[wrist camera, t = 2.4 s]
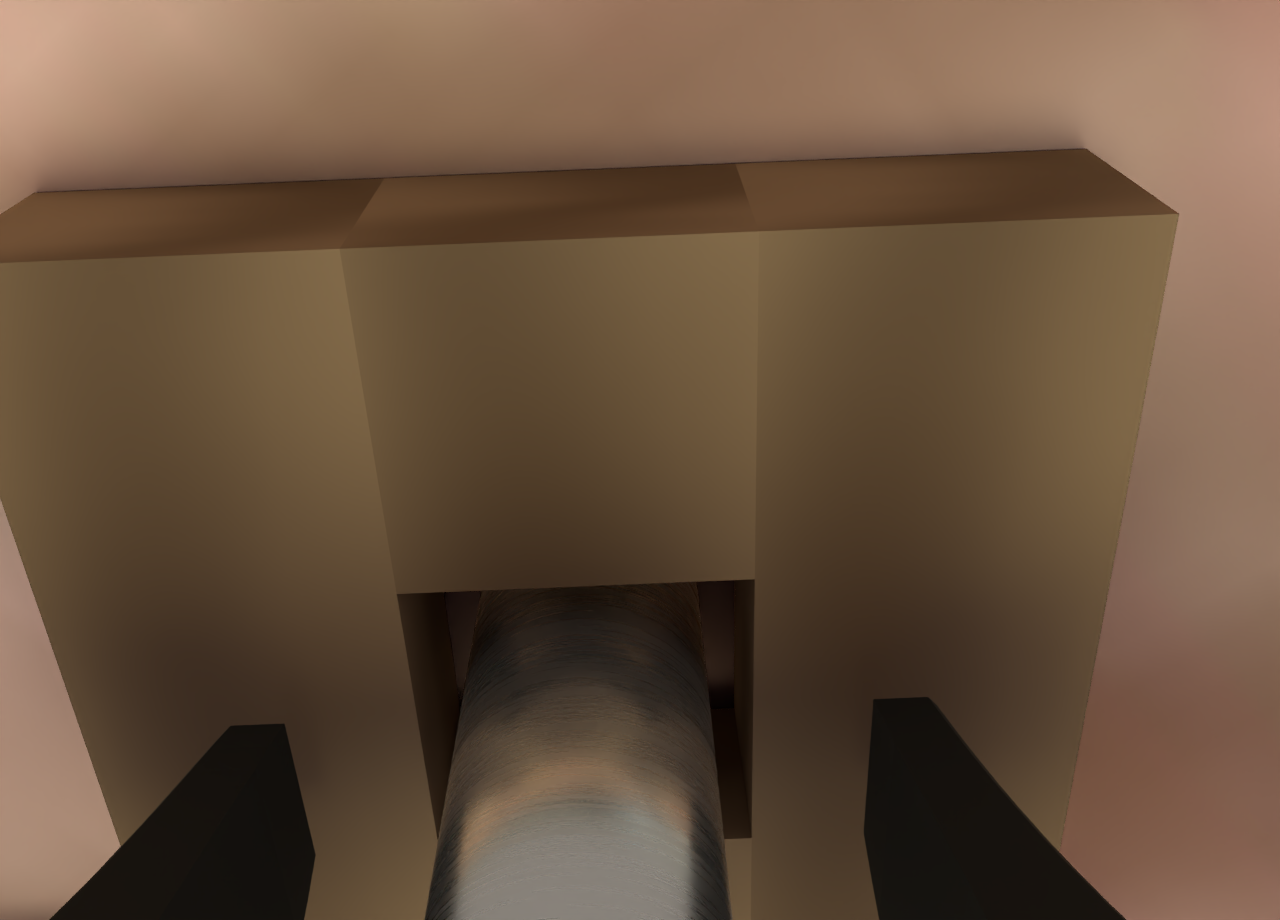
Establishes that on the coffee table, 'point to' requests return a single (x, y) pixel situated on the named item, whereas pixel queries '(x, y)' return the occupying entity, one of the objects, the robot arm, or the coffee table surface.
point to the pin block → (581, 469)
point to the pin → (584, 762)
